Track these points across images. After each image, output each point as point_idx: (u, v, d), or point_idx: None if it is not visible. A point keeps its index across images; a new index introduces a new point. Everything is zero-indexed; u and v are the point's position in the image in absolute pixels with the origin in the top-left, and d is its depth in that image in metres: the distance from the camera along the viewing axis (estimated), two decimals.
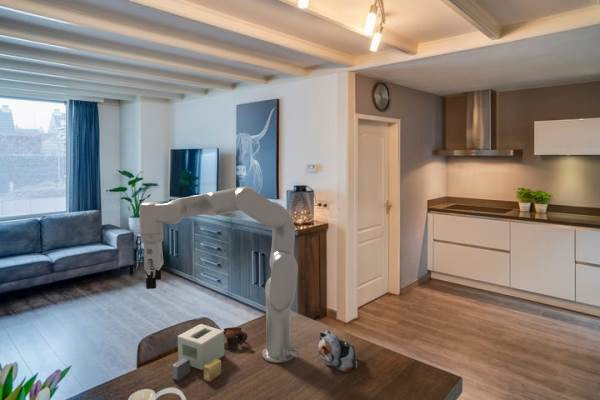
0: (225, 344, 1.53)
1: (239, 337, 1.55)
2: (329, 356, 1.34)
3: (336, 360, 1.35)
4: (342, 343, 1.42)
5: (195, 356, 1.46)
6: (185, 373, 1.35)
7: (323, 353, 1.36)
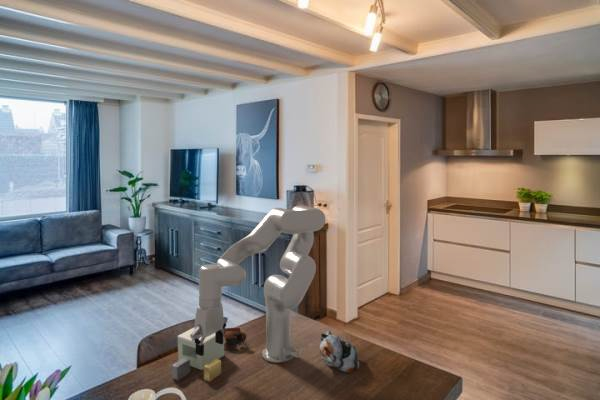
0: (224, 345, 1.53)
1: (238, 337, 1.54)
2: (331, 357, 1.33)
3: (338, 361, 1.34)
4: (343, 344, 1.42)
5: (195, 356, 1.46)
6: (185, 373, 1.35)
7: (325, 354, 1.35)
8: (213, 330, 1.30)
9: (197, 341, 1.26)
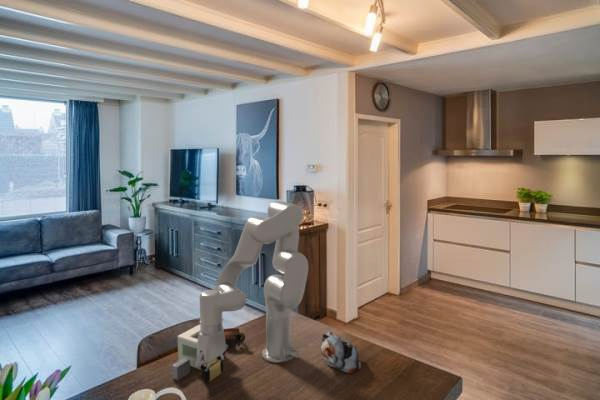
0: None
1: (237, 338, 1.54)
2: (333, 358, 1.33)
3: (340, 361, 1.34)
4: (345, 344, 1.42)
5: (195, 356, 1.46)
6: (185, 373, 1.35)
7: (327, 355, 1.35)
8: (215, 355, 1.31)
9: (203, 367, 1.29)
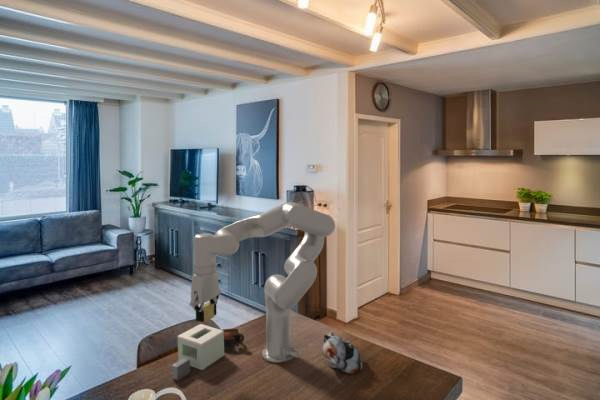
0: None
1: (236, 338, 1.54)
2: (335, 358, 1.32)
3: (342, 362, 1.34)
4: (346, 345, 1.41)
5: (195, 356, 1.46)
6: (185, 373, 1.35)
7: (329, 356, 1.34)
8: (209, 296, 1.34)
9: (197, 308, 1.31)
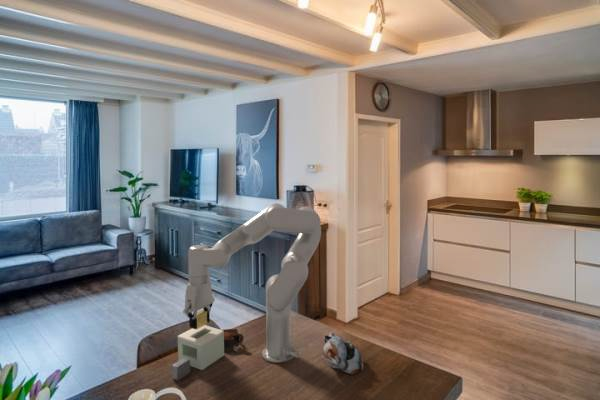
0: None
1: (235, 339, 1.53)
2: (336, 359, 1.32)
3: (343, 363, 1.33)
4: (347, 345, 1.41)
5: (195, 356, 1.46)
6: (185, 373, 1.35)
7: (330, 356, 1.34)
8: (202, 305, 1.42)
9: (190, 315, 1.39)
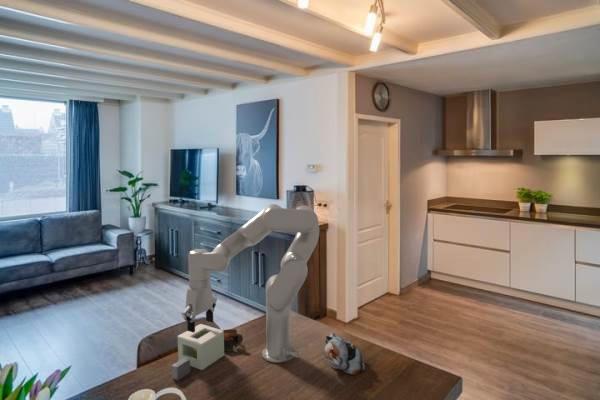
0: None
1: (234, 339, 1.53)
2: (338, 359, 1.32)
3: (344, 363, 1.33)
4: (348, 345, 1.41)
5: None
6: (185, 373, 1.35)
7: (331, 357, 1.33)
8: (203, 309, 1.42)
9: (188, 319, 1.38)
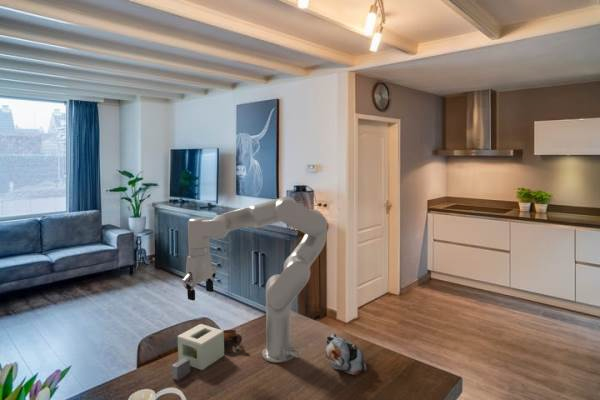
0: None
1: (233, 340, 1.53)
2: (340, 360, 1.31)
3: (346, 364, 1.33)
4: (349, 346, 1.40)
5: None
6: (185, 373, 1.35)
7: (333, 357, 1.33)
8: (203, 277, 1.41)
9: (188, 286, 1.37)
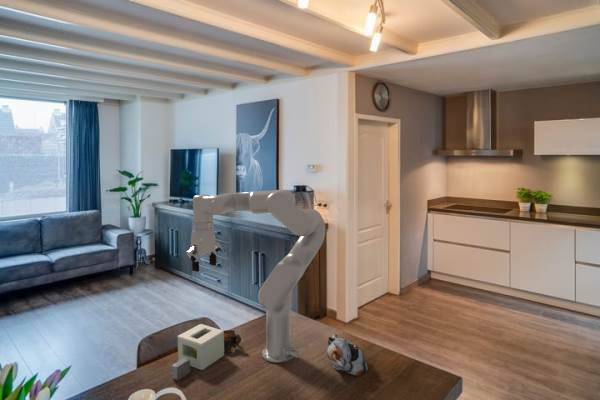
0: None
1: (233, 340, 1.52)
2: (341, 361, 1.31)
3: (348, 364, 1.32)
4: (351, 346, 1.40)
5: None
6: (185, 373, 1.35)
7: (335, 358, 1.32)
8: (207, 250, 1.50)
9: (193, 258, 1.46)
